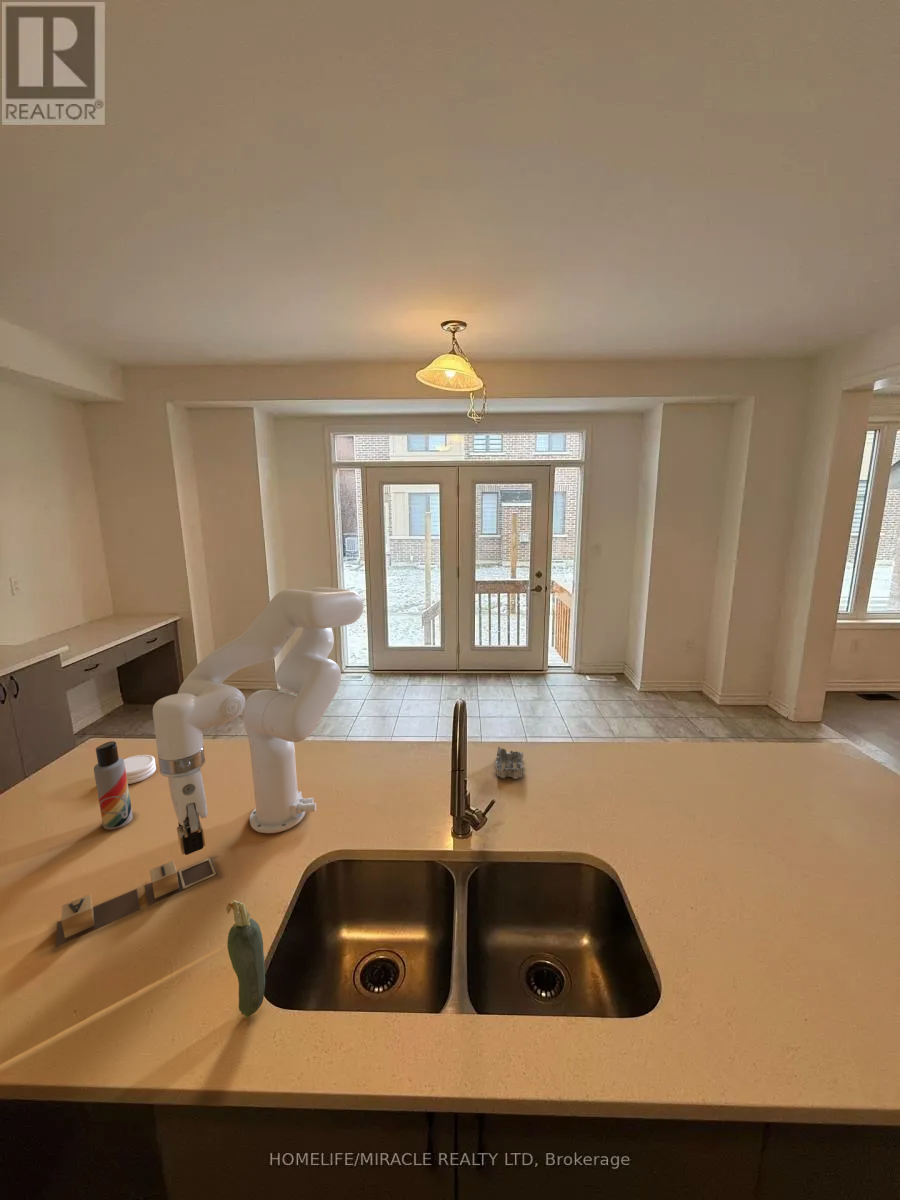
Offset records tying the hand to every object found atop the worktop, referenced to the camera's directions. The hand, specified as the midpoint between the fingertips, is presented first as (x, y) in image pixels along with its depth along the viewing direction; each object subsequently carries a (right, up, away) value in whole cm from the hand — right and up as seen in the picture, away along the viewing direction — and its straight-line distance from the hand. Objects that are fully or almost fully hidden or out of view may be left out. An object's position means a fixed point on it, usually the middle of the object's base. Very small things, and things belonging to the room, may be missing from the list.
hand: (191, 843), depth 91 cm
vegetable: (+22, -13, -24) cm, 35 cm away
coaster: (-36, -1, +36) cm, 51 cm away
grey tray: (-2, -8, 0) cm, 8 cm away
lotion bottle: (-27, -4, +17) cm, 32 cm away
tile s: (0, 0, 0) cm, 0 cm away
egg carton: (+68, 0, +39) cm, 78 cm away
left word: (-12, -9, -8) cm, 17 cm away
